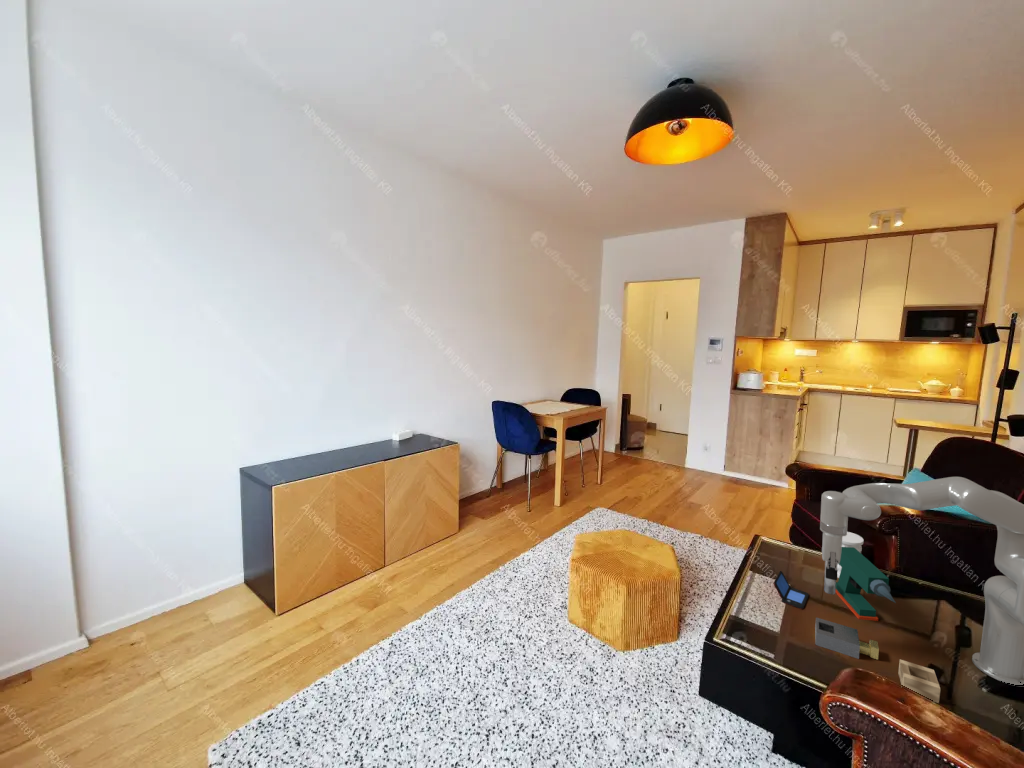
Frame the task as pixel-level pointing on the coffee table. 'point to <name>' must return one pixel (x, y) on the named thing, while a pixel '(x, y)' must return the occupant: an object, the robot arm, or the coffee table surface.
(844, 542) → the decorative container
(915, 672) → the beige open box
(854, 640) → the socket block
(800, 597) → the handheld game console
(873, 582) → the power tool
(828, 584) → the grey peg
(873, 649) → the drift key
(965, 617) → the coffee table surface
